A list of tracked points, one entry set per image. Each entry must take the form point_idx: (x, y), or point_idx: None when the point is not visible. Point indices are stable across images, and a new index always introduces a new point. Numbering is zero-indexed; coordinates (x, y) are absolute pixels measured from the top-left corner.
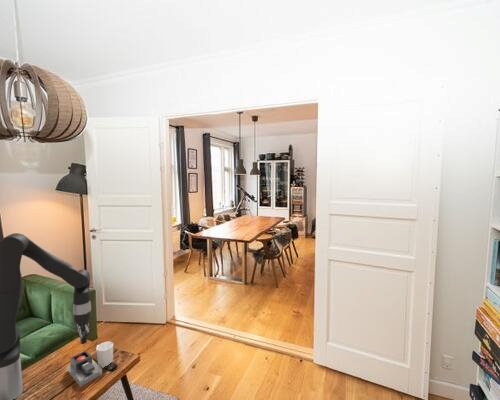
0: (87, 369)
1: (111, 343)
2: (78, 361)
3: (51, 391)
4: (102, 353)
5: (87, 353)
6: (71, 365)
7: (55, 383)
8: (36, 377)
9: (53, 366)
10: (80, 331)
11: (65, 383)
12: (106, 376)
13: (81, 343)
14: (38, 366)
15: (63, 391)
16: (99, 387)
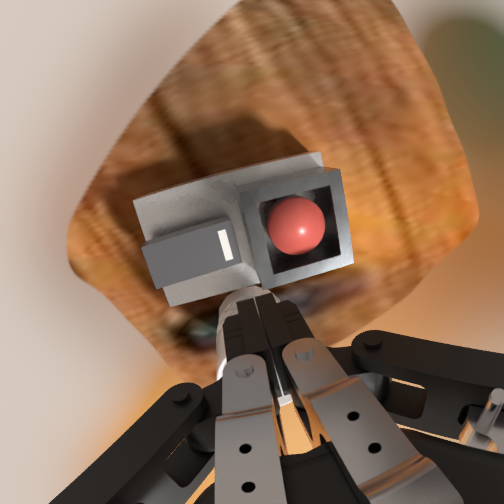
0: (152, 251)
1: (279, 399)
2: (277, 209)
3: (196, 75)
4: (220, 351)
5: (311, 268)
6: (306, 169)
7: (248, 92)
8: (351, 38)
9: (388, 106)
10: (228, 461)
11: (214, 132)
12: (148, 306)
13: (245, 301)
14: (419, 64)
15: (157, 123)
16: (91, 271)
